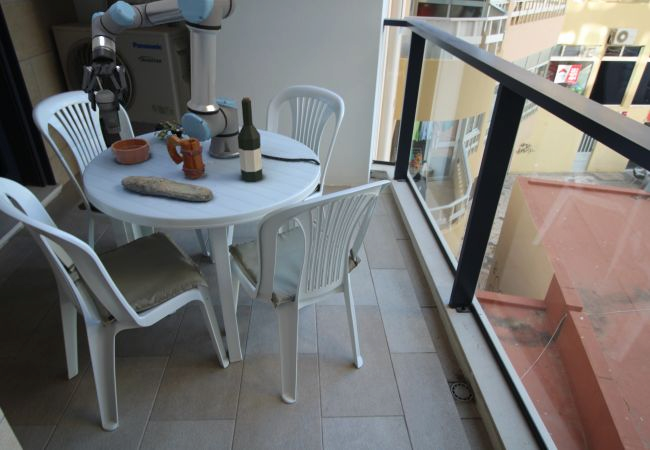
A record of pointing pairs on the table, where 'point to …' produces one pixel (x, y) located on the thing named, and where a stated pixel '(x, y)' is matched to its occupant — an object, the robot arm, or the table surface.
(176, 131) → the passion flower
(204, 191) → the long grey stone
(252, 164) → the wine bottle
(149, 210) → the table surface
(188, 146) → the mug
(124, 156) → the bowl
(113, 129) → the beverage cup
